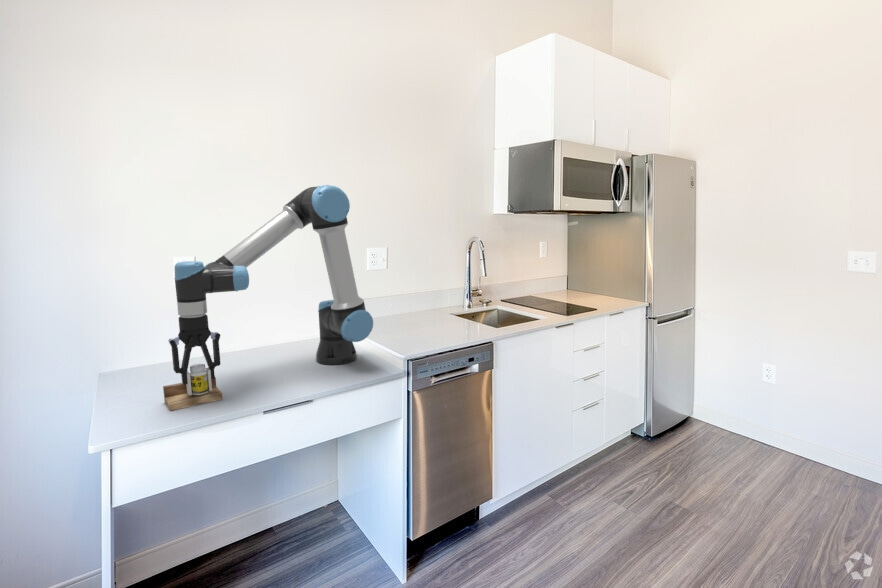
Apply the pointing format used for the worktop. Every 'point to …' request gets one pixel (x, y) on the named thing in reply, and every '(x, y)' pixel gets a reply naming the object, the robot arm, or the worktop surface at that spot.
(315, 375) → the worktop surface
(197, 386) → the supplement bottle
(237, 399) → the worktop surface
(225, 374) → the worktop surface
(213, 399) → the wooden stand
